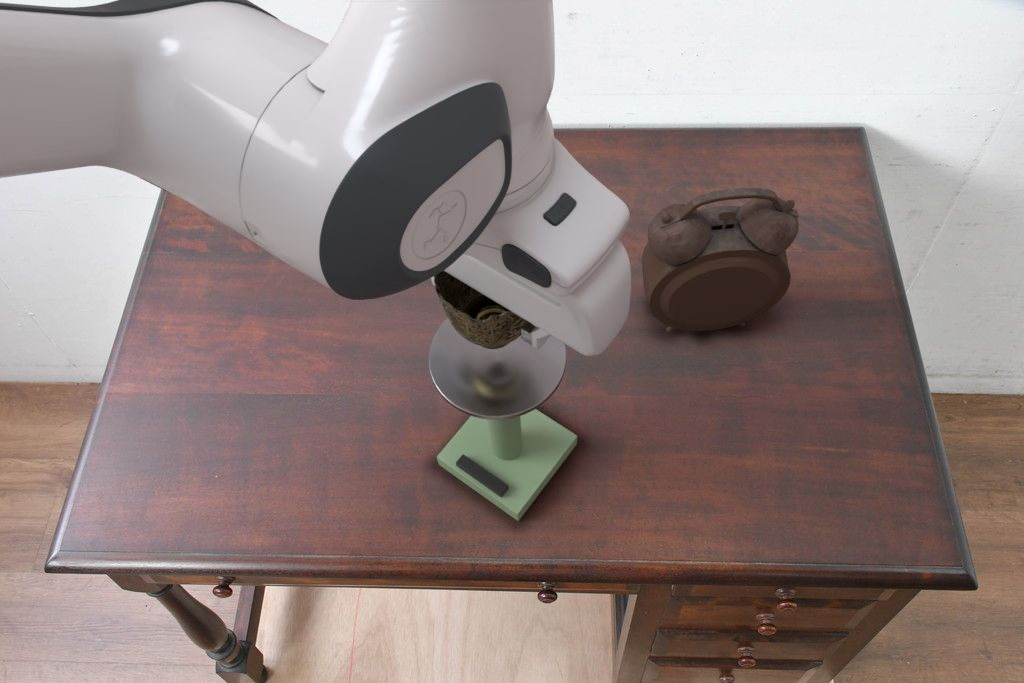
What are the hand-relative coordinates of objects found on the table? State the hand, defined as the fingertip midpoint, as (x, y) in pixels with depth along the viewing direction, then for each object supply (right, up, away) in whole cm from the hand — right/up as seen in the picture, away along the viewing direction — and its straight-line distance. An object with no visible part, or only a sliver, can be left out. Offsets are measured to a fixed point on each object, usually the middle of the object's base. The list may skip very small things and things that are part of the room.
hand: (491, 310), depth 58 cm
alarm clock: (+22, +1, +31) cm, 38 cm away
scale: (+1, -14, +22) cm, 26 cm away
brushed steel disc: (0, -4, +7) cm, 8 cm away
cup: (0, -2, +3) cm, 3 cm away
